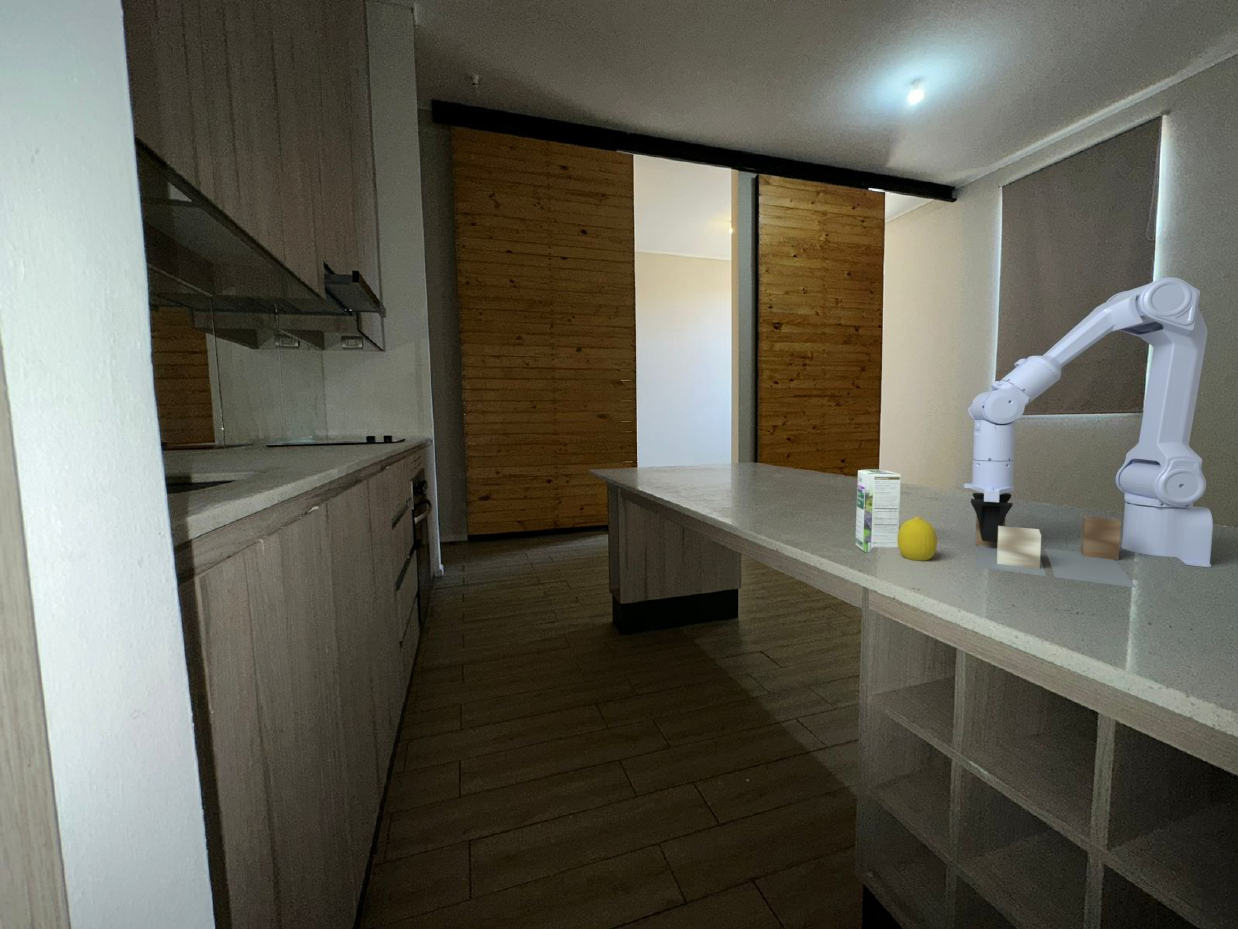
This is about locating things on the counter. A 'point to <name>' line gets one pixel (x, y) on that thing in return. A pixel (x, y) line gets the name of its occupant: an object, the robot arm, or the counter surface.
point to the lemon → (917, 540)
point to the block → (1019, 547)
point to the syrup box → (877, 509)
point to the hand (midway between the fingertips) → (989, 536)
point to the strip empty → (1092, 554)
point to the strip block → (989, 557)
